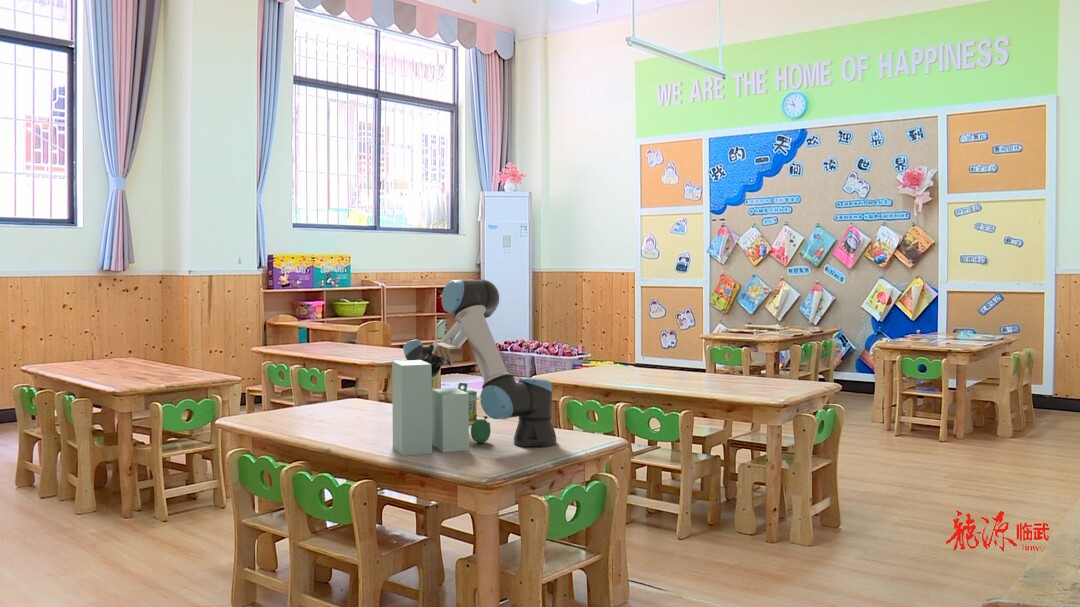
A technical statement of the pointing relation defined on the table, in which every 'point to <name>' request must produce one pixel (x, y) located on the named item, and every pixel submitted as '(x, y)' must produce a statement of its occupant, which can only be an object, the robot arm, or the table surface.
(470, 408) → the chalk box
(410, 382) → the step shelf
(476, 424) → the alien toy
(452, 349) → the walnut rod
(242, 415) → the table surface
